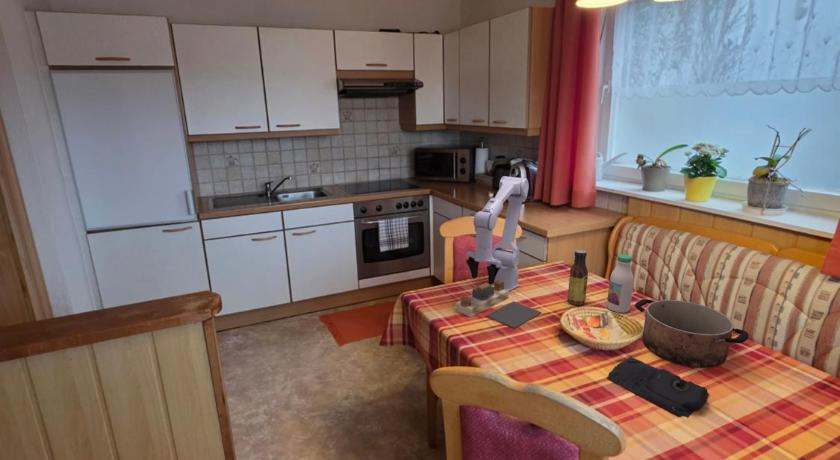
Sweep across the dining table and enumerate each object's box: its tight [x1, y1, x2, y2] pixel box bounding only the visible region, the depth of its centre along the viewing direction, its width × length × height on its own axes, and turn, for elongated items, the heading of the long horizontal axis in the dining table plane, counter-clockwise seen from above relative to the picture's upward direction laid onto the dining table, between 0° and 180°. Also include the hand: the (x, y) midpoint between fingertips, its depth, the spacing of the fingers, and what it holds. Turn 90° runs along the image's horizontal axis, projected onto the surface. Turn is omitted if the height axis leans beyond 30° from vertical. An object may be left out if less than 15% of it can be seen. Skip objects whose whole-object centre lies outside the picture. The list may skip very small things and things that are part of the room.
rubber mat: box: [485, 301, 542, 330], centre depth 158 cm, size 16×12×1 cm
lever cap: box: [471, 282, 494, 301], centre depth 165 cm, size 7×4×4 cm, turn 133°
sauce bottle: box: [567, 249, 589, 306], centre depth 165 cm, size 6×6×20 cm
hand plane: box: [455, 280, 510, 318], centre depth 166 cm, size 22×7×6 cm, turn 133°
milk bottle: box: [606, 253, 634, 314], centre depth 160 cm, size 8×8×20 cm
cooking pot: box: [634, 298, 749, 369], centre depth 136 cm, size 30×22×11 cm
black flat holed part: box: [606, 356, 710, 419], centre depth 118 cm, size 15×22×5 cm
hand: (482, 280), depth 164 cm, fingers open, 7 cm apart
